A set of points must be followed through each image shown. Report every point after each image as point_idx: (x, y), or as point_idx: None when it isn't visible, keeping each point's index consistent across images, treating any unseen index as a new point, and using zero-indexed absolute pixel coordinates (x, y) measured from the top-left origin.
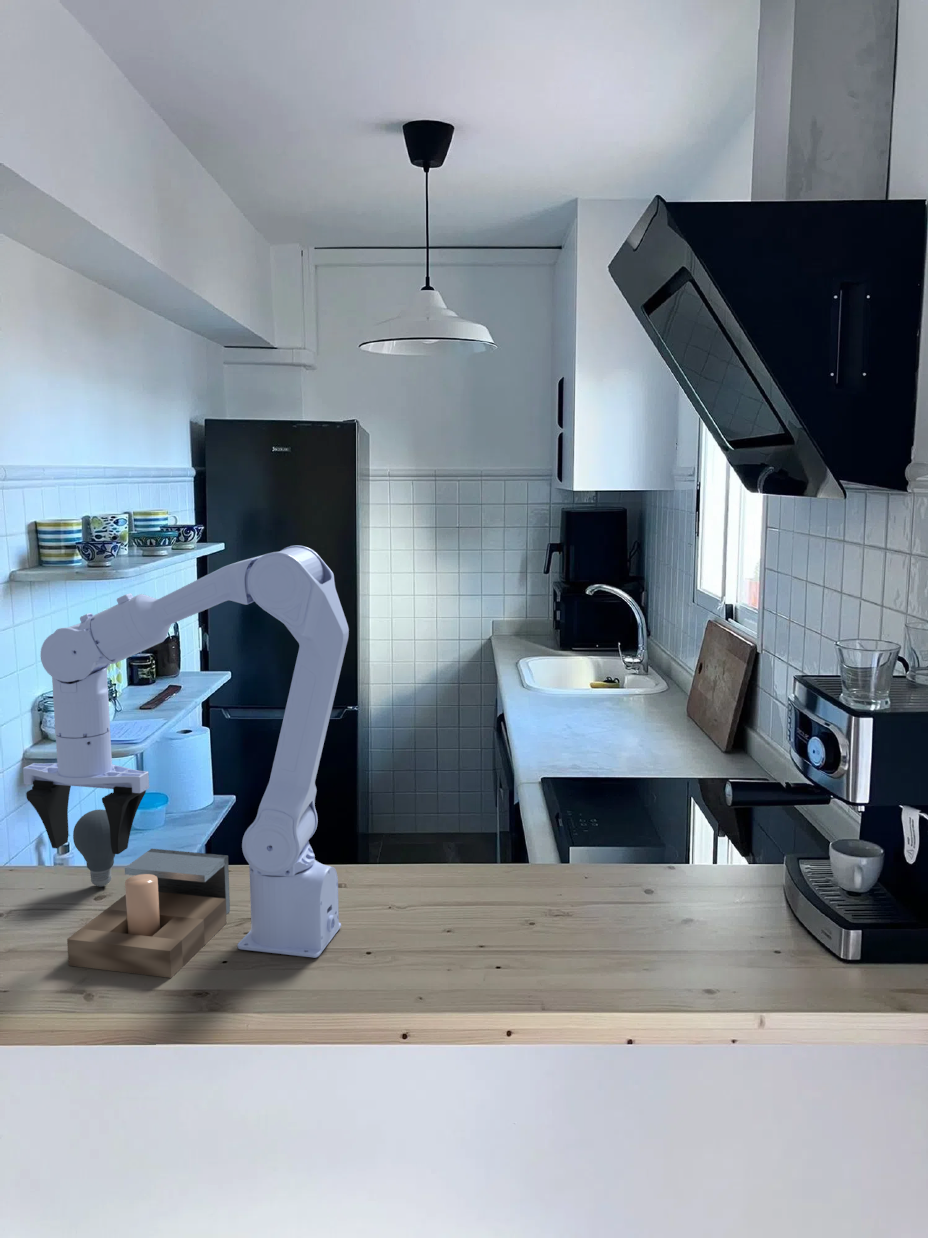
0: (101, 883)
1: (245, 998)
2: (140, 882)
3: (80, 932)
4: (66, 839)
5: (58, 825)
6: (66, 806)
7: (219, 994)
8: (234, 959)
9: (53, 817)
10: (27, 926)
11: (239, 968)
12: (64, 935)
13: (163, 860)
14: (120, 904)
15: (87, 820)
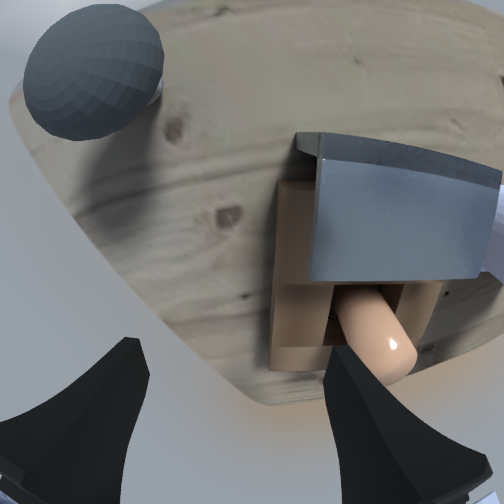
0: (154, 100)
1: (459, 342)
2: (389, 374)
3: (277, 355)
4: (136, 348)
5: (124, 410)
6: (85, 417)
7: (441, 344)
8: (454, 286)
9: (120, 447)
10: (131, 260)
11: (458, 301)
12: (205, 276)
13: (392, 216)
14: (294, 262)
15: (49, 112)
